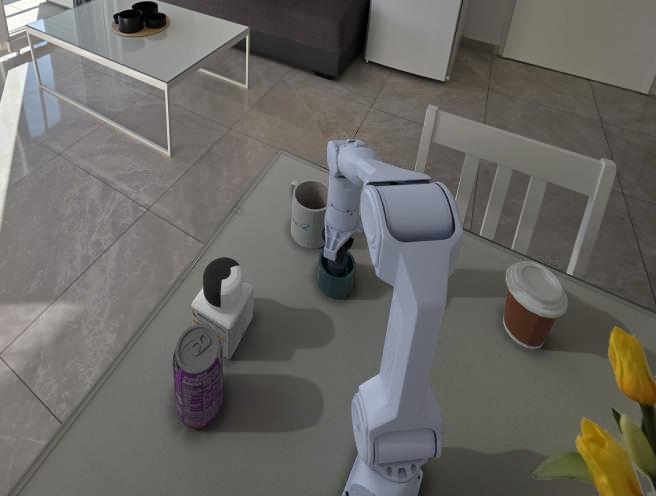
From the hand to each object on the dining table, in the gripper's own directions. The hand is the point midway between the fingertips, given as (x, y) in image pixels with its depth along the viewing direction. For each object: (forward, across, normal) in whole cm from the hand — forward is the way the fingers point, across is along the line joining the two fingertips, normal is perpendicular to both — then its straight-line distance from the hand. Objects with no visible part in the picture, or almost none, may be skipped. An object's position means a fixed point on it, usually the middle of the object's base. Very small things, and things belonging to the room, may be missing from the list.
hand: (337, 256), depth 81 cm
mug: (+7, +10, +9) cm, 15 cm away
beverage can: (+7, -27, +13) cm, 31 cm away
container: (+7, -16, +15) cm, 23 cm away
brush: (+4, 0, 0) cm, 4 cm away
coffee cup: (+7, +6, -33) cm, 34 cm away
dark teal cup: (+6, 0, 0) cm, 6 cm away
